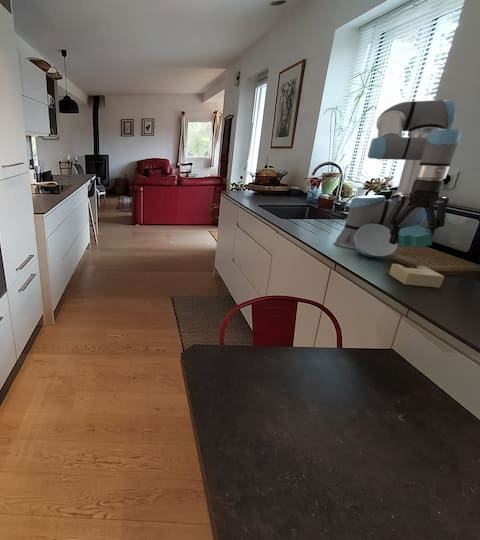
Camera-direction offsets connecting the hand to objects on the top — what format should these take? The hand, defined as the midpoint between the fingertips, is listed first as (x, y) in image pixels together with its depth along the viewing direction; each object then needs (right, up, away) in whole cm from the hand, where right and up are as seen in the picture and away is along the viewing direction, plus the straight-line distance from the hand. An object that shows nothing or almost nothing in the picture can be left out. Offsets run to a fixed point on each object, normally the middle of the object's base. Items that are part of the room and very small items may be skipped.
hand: (407, 244), depth 116 cm
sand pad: (-2, -13, -5) cm, 14 cm away
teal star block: (0, +1, -2) cm, 2 cm away
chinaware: (+4, 0, +24) cm, 24 cm away
